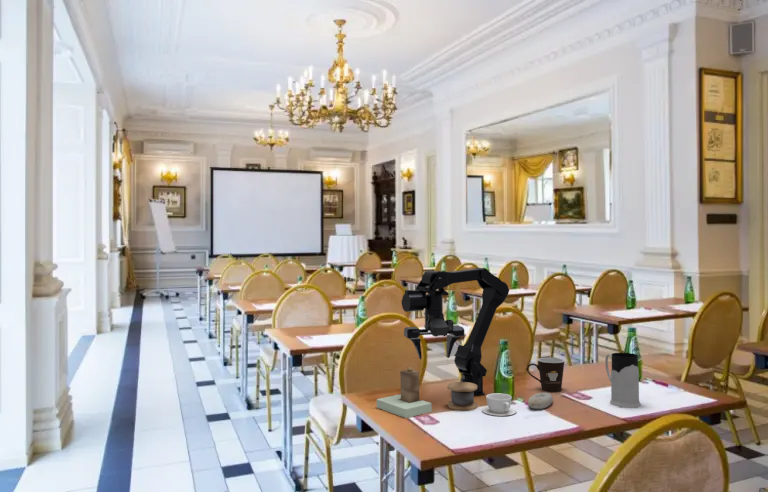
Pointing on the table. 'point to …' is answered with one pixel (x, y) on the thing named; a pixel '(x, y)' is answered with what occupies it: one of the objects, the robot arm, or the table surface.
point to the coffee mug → (550, 373)
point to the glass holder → (624, 380)
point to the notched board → (403, 406)
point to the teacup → (499, 405)
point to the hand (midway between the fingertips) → (434, 358)
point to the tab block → (409, 385)
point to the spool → (462, 396)
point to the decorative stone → (540, 400)
